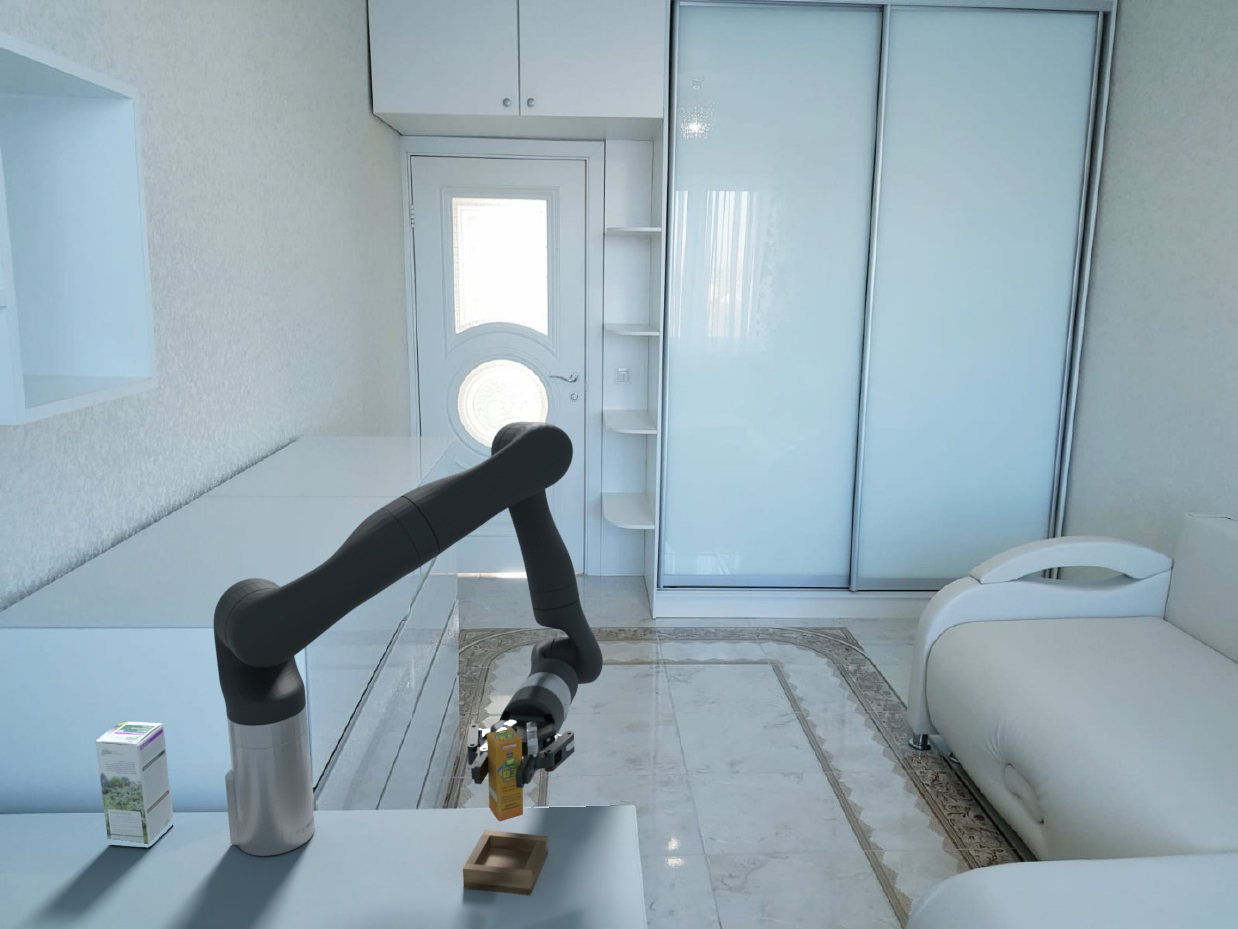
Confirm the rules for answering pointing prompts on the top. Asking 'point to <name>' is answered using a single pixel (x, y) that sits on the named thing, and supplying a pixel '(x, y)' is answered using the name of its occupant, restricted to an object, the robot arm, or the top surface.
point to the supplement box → (504, 774)
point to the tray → (506, 862)
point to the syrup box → (134, 781)
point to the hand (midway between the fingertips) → (498, 778)
